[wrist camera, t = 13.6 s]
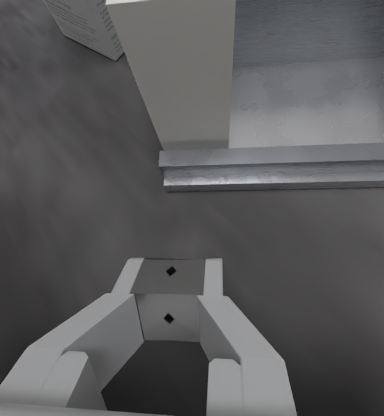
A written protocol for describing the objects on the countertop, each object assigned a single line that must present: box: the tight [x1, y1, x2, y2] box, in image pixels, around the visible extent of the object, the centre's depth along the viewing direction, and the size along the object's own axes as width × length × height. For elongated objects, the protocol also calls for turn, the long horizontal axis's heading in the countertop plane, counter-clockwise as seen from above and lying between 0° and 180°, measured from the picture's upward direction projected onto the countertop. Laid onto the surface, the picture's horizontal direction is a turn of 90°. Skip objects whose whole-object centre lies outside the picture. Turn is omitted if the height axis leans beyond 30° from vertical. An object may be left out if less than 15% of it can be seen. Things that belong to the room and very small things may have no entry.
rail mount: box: [159, 0, 384, 192], centre depth 15 cm, size 16×10×6 cm, turn 89°
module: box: [105, 0, 236, 151], centre depth 13 cm, size 4×6×10 cm, turn 179°
